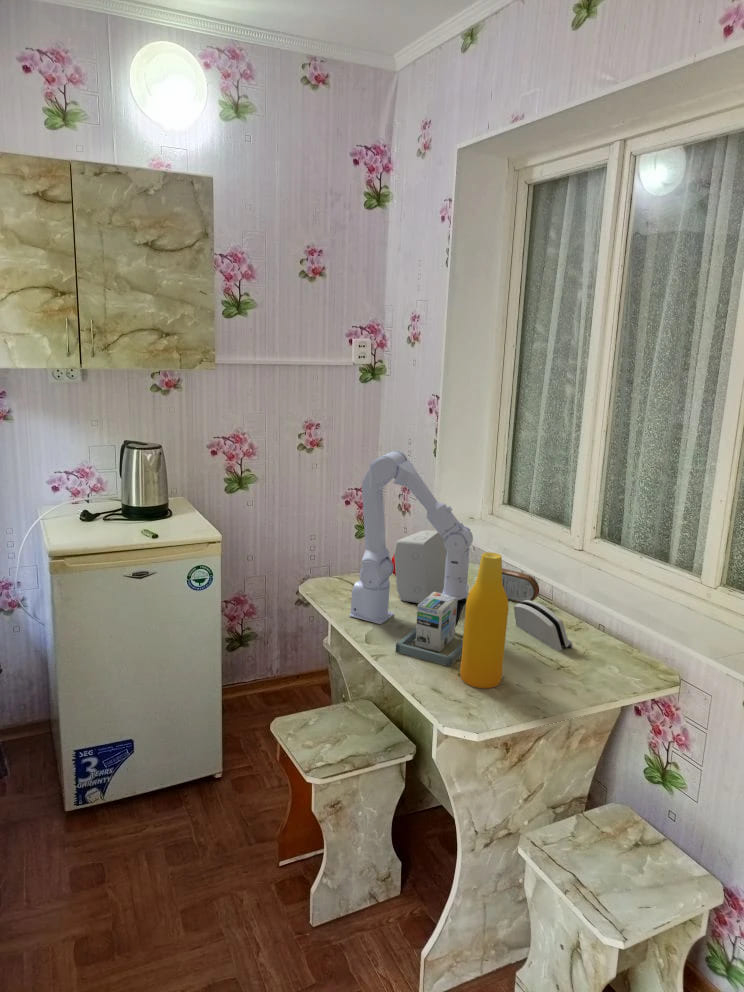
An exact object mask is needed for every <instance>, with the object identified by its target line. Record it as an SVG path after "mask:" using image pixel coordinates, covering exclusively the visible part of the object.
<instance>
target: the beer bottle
mask: <svg viewBox="0 0 744 992" xmlns="http://www.w3.org/2000/svg"><path fill="white" fill-rule="evenodd" d="M502 560H503V559H502V555H501V554H500V553H497V552H489V551H488V552H483V553H482V554H481V558H480V563H479V565H478V566H479V568H478V572H477V577H476V580H475V583H474V584H473V586H472V587H471V589H470V591H469V592H468V593H469V595H468V597H467V601H466V604H465V613H464V626H463V636H462V642H463V647H462V655H461V661H460V668H459V669H460V670H459V675H460V679H461V680H462V681H463V683H465V684H466V685H468V686H470V687H472V688H478V689H492V688H494V687H497V686H498V685H499V684H501V681H502V677H503V668H504V656H505V645H506V644H505V643H506V635H507V626H508V615H509V600H508V599H507V595H506V592H505V590H504V587H503V584H502V568H503V565H502V564H503V563H502Z"/></svg>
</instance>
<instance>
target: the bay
mask: <svg viewBox="0 0 744 992" xmlns="http://www.w3.org/2000/svg"><path fill="white" fill-rule="evenodd" d="M414 641H416V627H415V628H413V629H412V630H411V631H409V633H407V634H406V635H405V636H404V637H402V638H401V639H400V640H399V641H398V642H397V643H395V653H399V654H402V655H406V656H410V657H412V658H417V659H421V660H424V661H428V662H430V663H431V662H432V663H436V664H440V665H443V666H447V667H452V665H454V663H456V661H457V660H459V659H460V658H461V657H462V647H463V641H461V643H460V644H458V646H457V647H456V648H455V649H454V650H452V652H451V653H450V654H448V655H446V654H442V653H440V652H439V653H438V652H436V651H433V650H429V649H425V648H421V647H418V646H412V645H411V643H413V642H414Z"/></svg>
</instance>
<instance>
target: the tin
mask: <svg viewBox="0 0 744 992" xmlns="http://www.w3.org/2000/svg"><path fill="white" fill-rule="evenodd" d="M502 584H503V587H504V590H505V592H506V595H507V599H508V601H511V602H515V603H517V604H520V603H521V601H524V600H530V601H534V600H536V599H537V598H538V596H539V593H540V586H539V583H538V580H536V579H535V577H534V576H532V575H530V574H527V573H523V572H518V571H515V570H511V569H507V568H503V567H502Z"/></svg>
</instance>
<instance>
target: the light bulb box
mask: <svg viewBox="0 0 744 992" xmlns="http://www.w3.org/2000/svg"><path fill="white" fill-rule="evenodd" d="M443 596H444V597H443V599H442V594H441V593H437V592H433V593H432V594H431V595H429V596H428V597H427V598H426V599H425V600H423V601H422V602H421V603H417V612H416V614H417V615H416V626H415V628H416V639H415V646H414V647H418V648H422V649H426V650H429V651H433V652H437V653H438V652H439V653H440V652H441V651H442V650H444V648H445V647H446V646H447V645H448V644H449V643H450V642H451V641H453V639H454V638H456V637H455V636H456V627H457V626H456V614H457V601H456V599H455V600H451V599H450V598H453V599H454V598H457V597H452V596H451V597H449V596H448V595H445V594H443ZM446 597H449V598H448V599H447V600H446V601H449V600H451V601H449V602H445V601H441V599H442V600H445V599H446ZM455 626H456V627H455Z"/></svg>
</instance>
